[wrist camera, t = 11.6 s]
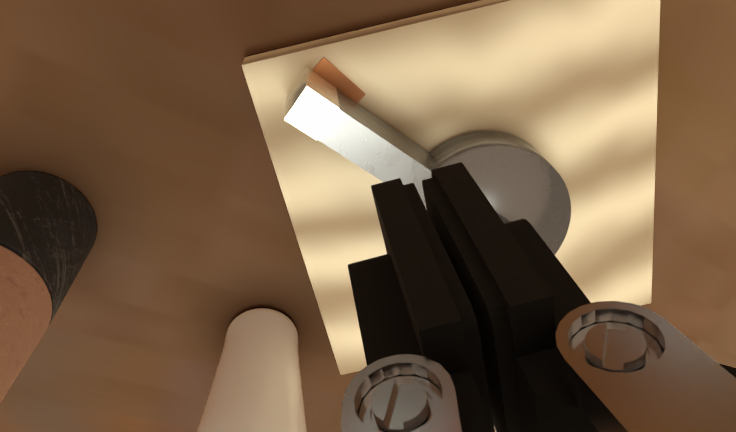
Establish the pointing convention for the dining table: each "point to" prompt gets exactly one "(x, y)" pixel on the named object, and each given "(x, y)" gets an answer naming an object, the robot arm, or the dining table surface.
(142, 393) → the dining table surface
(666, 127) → the dining table surface
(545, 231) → the silver piece
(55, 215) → the travel mug
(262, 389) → the drinking glass
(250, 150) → the dining table surface
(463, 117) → the board
